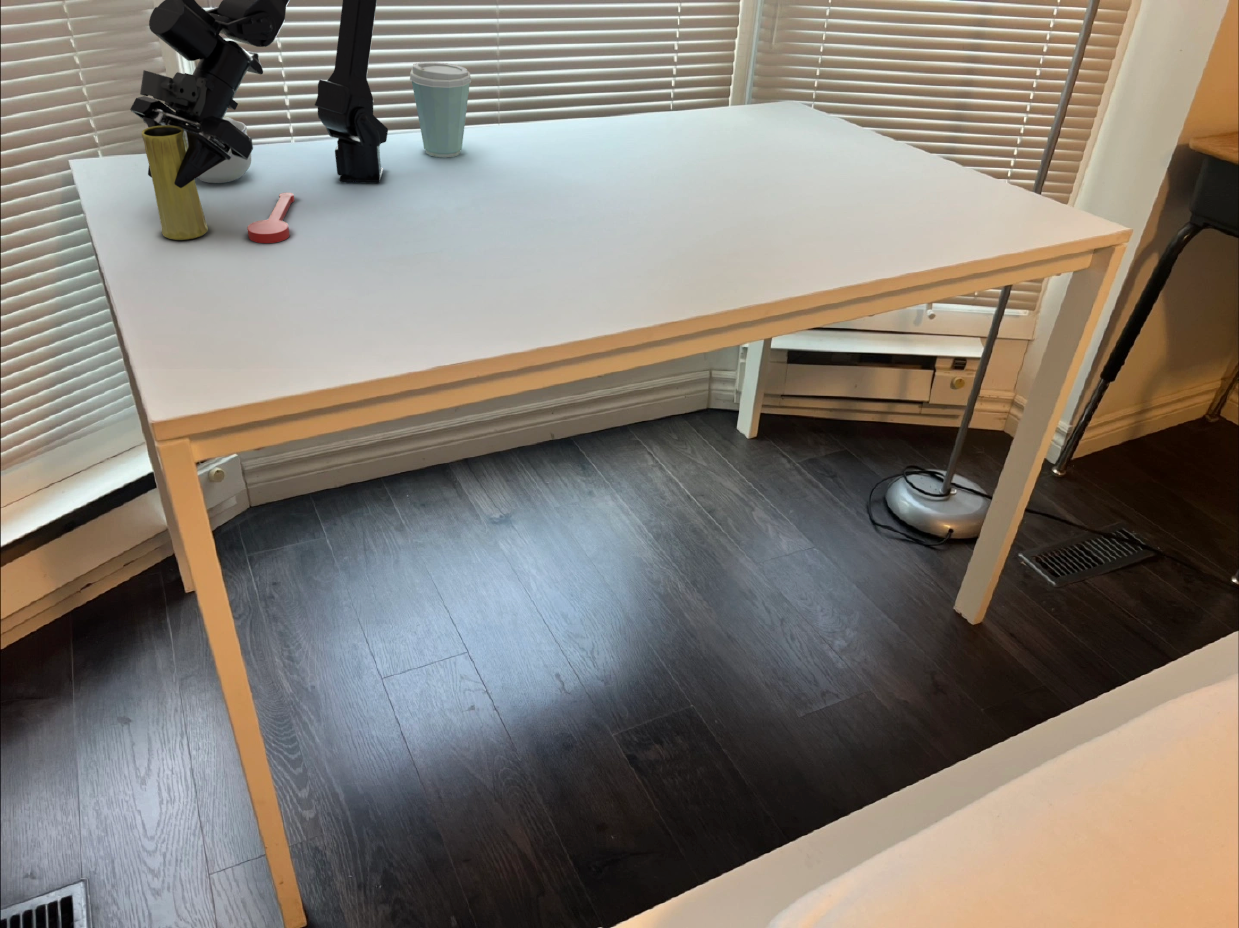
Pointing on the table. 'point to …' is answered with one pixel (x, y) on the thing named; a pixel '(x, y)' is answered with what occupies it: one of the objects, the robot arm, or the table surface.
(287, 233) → the spoon
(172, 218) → the vase
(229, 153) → the teacup
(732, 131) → the table surface
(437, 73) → the disposable coffee cup
